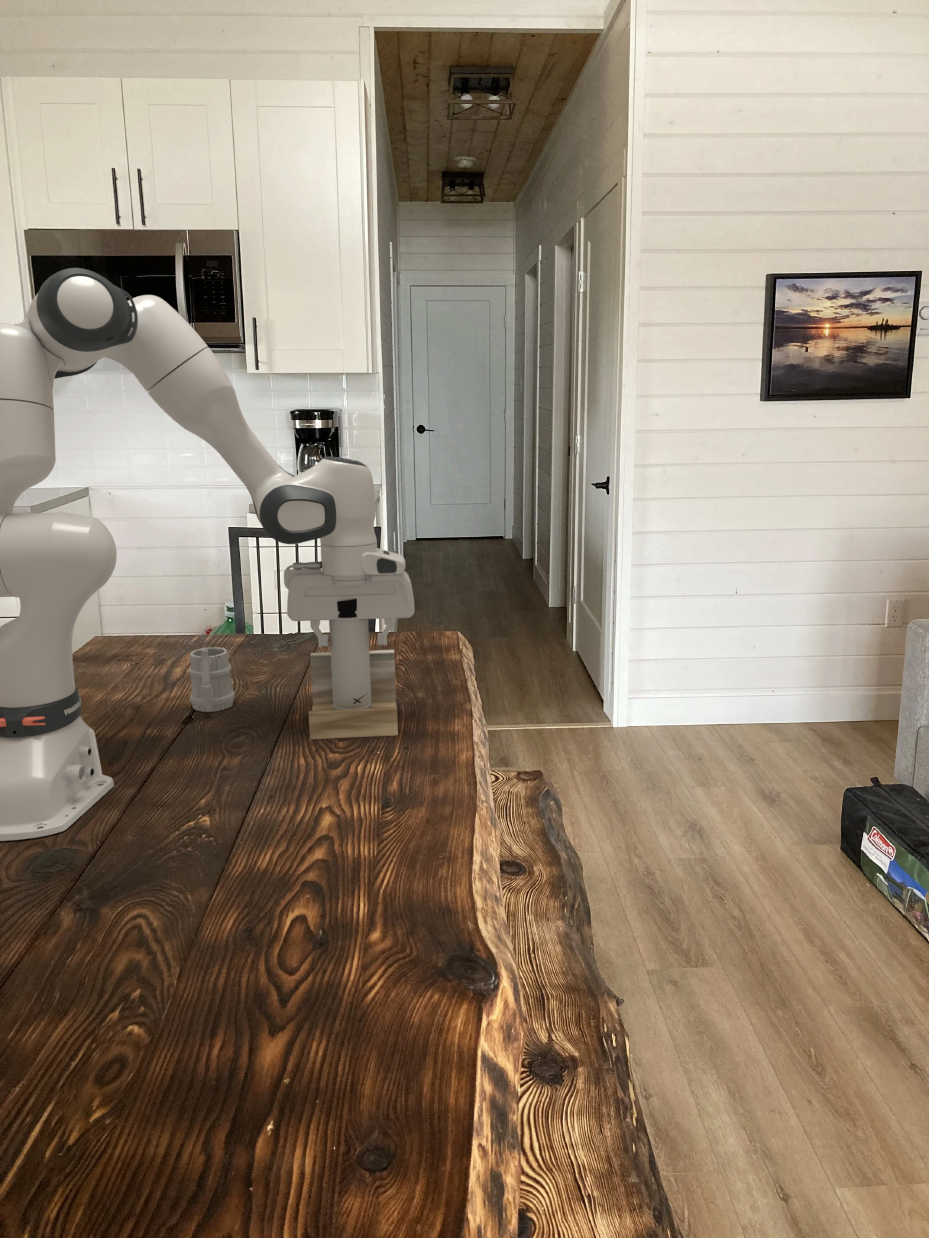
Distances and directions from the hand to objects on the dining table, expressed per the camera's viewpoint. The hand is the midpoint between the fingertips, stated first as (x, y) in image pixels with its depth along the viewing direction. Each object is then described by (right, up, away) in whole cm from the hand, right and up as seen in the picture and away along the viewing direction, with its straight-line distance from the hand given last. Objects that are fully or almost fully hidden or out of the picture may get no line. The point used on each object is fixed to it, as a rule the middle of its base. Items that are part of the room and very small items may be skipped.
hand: (353, 645), depth 152 cm
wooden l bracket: (0, -13, +5) cm, 14 cm away
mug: (-26, -12, +13) cm, 32 cm away
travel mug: (0, -11, +4) cm, 12 cm away
